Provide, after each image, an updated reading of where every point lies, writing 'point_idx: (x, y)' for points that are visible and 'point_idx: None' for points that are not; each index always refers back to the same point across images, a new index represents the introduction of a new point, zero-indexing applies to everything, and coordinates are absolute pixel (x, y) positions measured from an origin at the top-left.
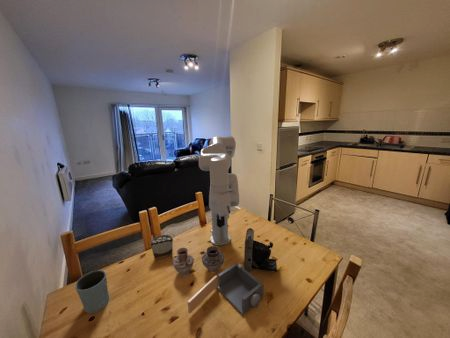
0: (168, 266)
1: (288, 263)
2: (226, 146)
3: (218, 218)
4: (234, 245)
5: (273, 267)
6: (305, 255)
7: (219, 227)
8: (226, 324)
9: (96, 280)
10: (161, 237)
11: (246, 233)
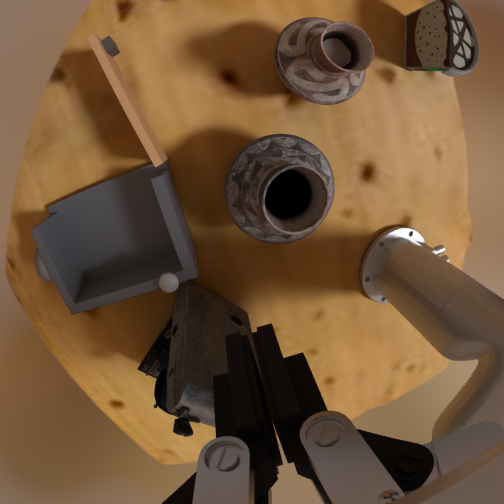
0: None
1: None
2: None
3: (285, 427)
4: (338, 300)
5: (155, 370)
6: (194, 436)
7: (227, 338)
8: (42, 153)
9: None
10: (470, 44)
11: None
